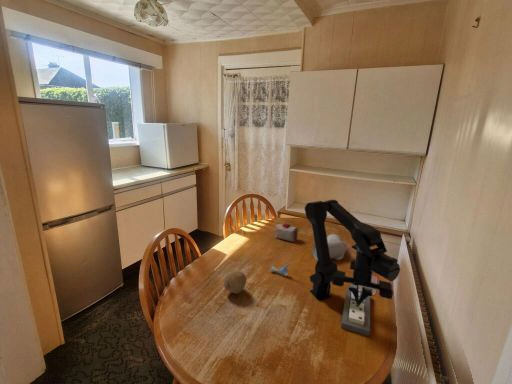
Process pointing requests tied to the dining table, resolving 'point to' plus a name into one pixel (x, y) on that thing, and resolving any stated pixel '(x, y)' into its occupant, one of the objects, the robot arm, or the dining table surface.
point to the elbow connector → (333, 247)
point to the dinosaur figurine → (281, 271)
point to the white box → (286, 232)
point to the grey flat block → (352, 326)
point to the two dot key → (356, 317)
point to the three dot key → (356, 306)
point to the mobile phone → (374, 280)
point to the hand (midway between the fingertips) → (358, 304)
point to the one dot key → (354, 297)
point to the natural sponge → (235, 281)
